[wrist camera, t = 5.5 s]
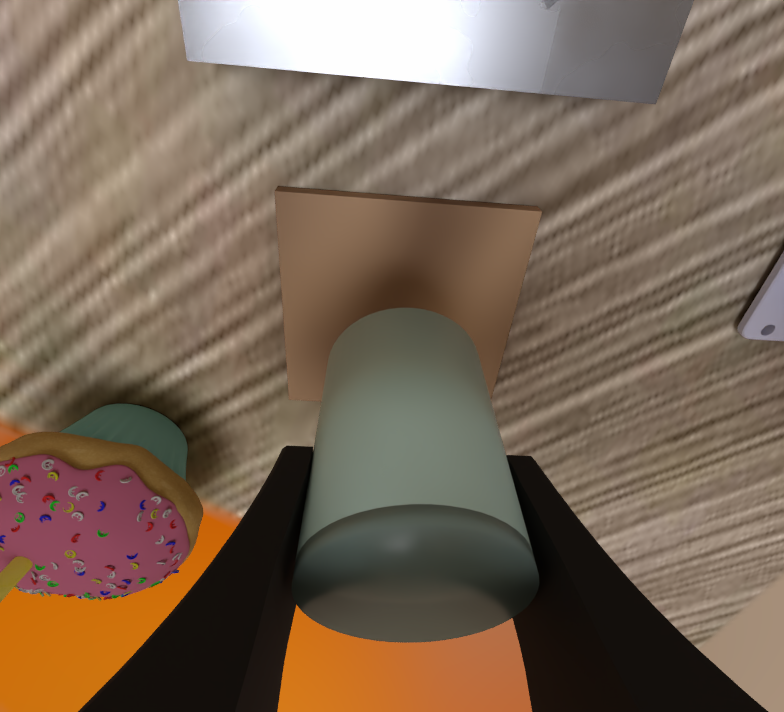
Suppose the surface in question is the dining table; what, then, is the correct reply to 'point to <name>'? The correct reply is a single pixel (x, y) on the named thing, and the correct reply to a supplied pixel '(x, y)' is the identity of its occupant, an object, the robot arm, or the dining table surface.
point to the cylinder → (410, 490)
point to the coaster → (395, 270)
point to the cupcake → (96, 506)
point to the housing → (451, 41)
